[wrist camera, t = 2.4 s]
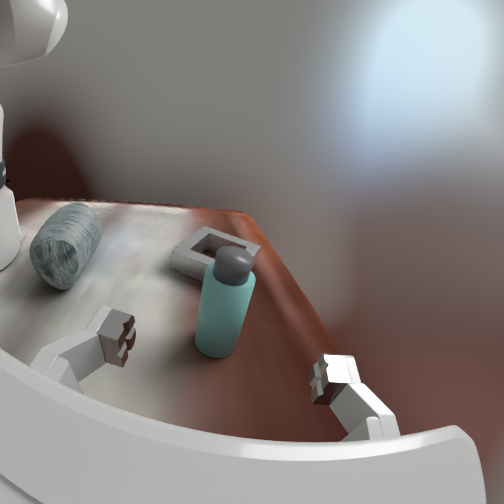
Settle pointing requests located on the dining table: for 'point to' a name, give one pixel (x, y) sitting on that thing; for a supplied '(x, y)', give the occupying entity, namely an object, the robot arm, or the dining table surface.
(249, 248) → the housing
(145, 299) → the dining table surface
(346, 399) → the robot arm
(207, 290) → the bottle
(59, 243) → the spool
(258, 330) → the dining table surface
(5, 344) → the dining table surface
